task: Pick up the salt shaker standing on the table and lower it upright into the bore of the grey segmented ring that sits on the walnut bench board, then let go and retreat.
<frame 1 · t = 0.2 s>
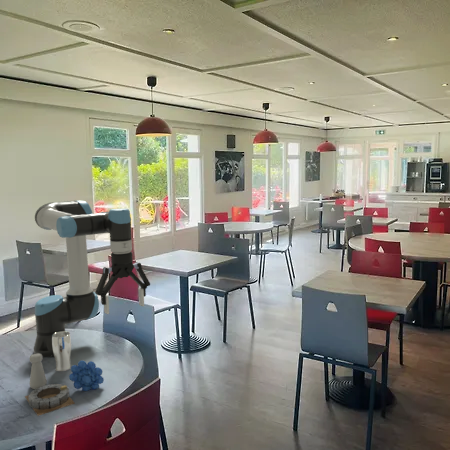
hand: (124, 309, 167), 28 cm above the table, fingers open, 13 cm apart
beer glass: (63, 371, 180), on the table
grapes: (87, 393, 162), on the table
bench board: (49, 403, 156), on the table
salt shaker: (38, 389, 166), on the table
grey segmented ring: (49, 399, 156), resting on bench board
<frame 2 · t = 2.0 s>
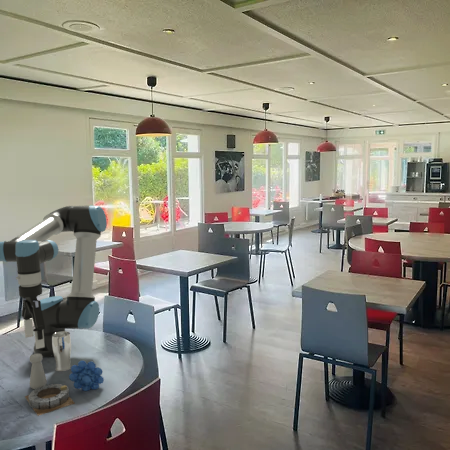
hand: (34, 342, 164), 18 cm above the table, fingers open, 13 cm apart
nothing on the table moved.
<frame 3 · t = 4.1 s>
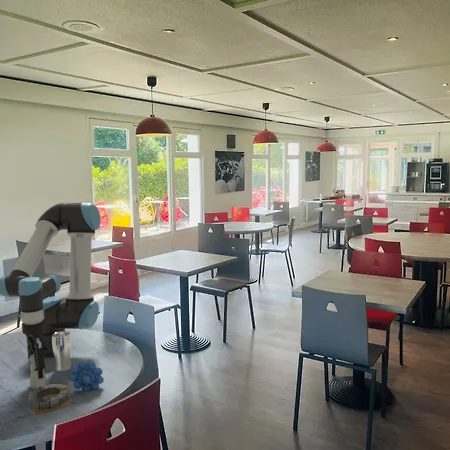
hand: (38, 382, 166), 2 cm above the table, fingers closed on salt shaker, 6 cm apart
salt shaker: (38, 389, 166), on the table, touching gripper
everything else where it was.
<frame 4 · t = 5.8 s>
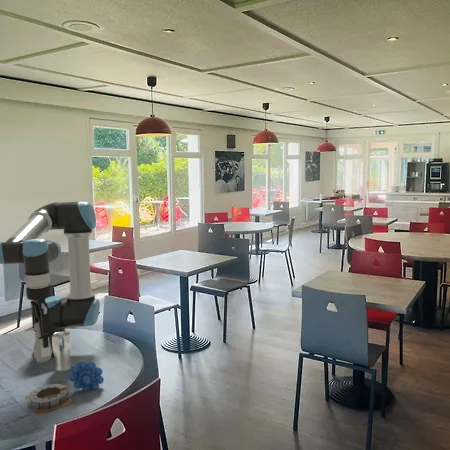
hand: (43, 353, 154), 18 cm above the table, fingers closed on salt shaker, 6 cm apart
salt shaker: (43, 360, 154), point 15 cm above the table, touching gripper
everything else where it was.
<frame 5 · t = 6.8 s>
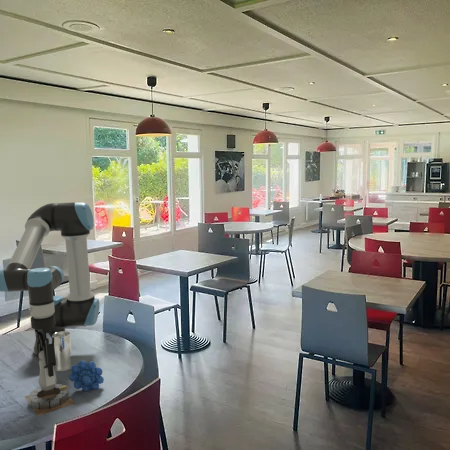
hand: (47, 380, 155), 8 cm above the table, fingers closed on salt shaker, 6 cm apart
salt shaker: (48, 388, 155), point 5 cm above the table, touching gripper
everything else where it was.
when the fingers open (5 cm above the table, at t = 7.6 s): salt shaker drops 2 cm, resting on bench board.
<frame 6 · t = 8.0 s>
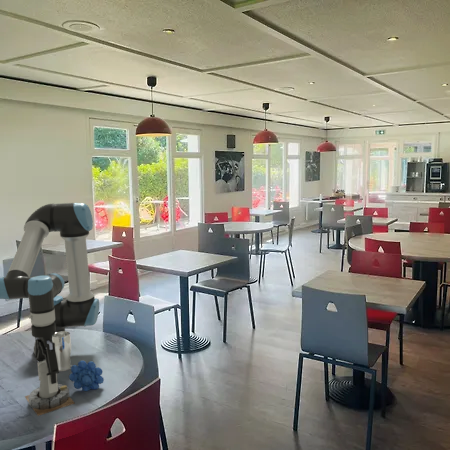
hand: (48, 385, 155), 6 cm above the table, fingers open, 11 cm apart
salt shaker: (49, 399, 156), point 1 cm above the table, touching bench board
everything else where it was.
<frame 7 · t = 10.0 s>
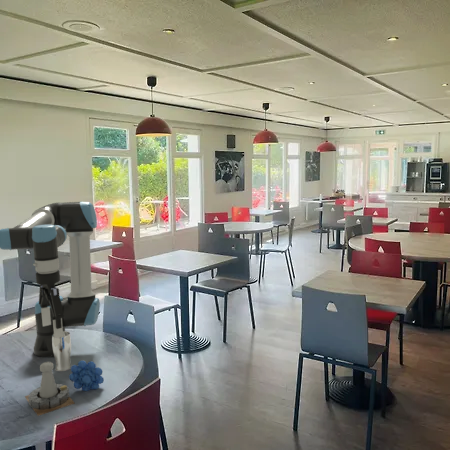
hand: (52, 331, 157), 24 cm above the table, fingers open, 13 cm apart
nothing on the table moved.
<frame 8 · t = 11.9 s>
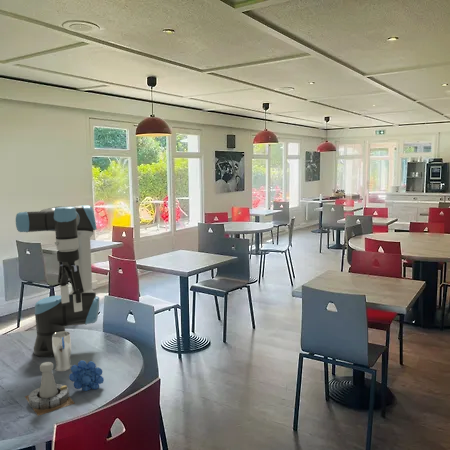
hand: (71, 306, 168), 29 cm above the table, fingers open, 13 cm apart
nothing on the table moved.
at the end: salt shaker 0.1 cm from the grey segmented ring (horizontally); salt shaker point 1.0 cm above the table; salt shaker tilted 0°; the gripper is holding nothing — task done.
